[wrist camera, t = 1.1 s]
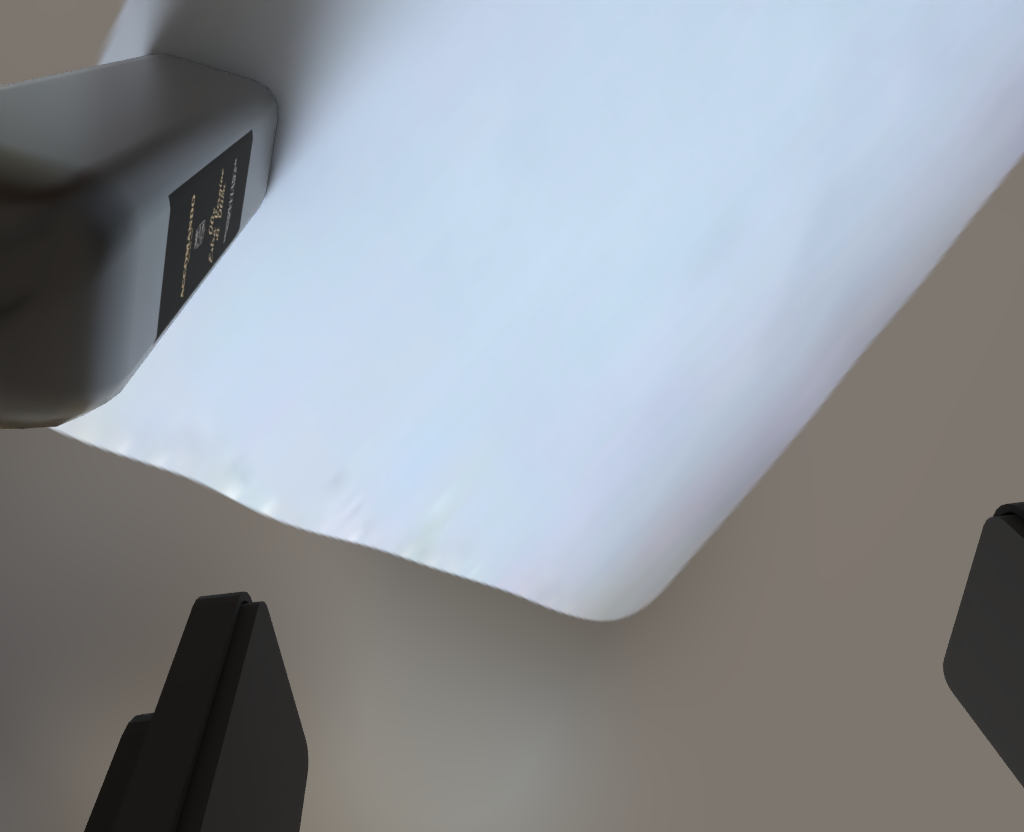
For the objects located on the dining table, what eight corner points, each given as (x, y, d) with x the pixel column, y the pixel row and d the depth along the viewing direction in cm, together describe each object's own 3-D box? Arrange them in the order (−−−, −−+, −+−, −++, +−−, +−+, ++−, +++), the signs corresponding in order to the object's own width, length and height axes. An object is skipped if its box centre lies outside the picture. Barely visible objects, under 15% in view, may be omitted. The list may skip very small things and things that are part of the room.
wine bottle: (284, 87, 33) (-231, 433, 7) (263, 217, 35) (-177, 844, 9) (141, 45, 32) (-1184, 266, 5) (130, 182, 34) (-829, 797, 8)
